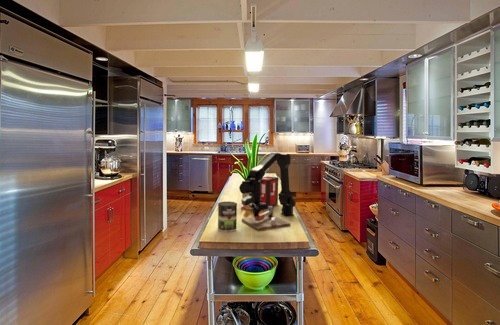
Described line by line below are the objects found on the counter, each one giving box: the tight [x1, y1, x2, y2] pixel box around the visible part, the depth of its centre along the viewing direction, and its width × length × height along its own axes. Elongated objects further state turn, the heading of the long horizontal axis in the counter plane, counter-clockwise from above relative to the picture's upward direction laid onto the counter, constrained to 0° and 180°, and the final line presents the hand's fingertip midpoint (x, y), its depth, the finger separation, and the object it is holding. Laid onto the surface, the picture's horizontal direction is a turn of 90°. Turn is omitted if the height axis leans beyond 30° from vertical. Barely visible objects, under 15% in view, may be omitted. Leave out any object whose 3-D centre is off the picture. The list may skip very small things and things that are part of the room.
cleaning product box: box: [261, 176, 279, 208], centre depth 222 cm, size 16×9×20 cm, turn 148°
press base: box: [241, 214, 292, 232], centre depth 181 cm, size 21×20×2 cm
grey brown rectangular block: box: [271, 217, 275, 226], centre depth 175 cm, size 6×2×3 cm, turn 172°
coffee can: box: [217, 201, 238, 233], centre depth 169 cm, size 10×10×14 cm
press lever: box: [255, 206, 274, 221], centre depth 183 cm, size 20×3×6 cm, turn 152°
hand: (255, 217), depth 179 cm, fingers closed
